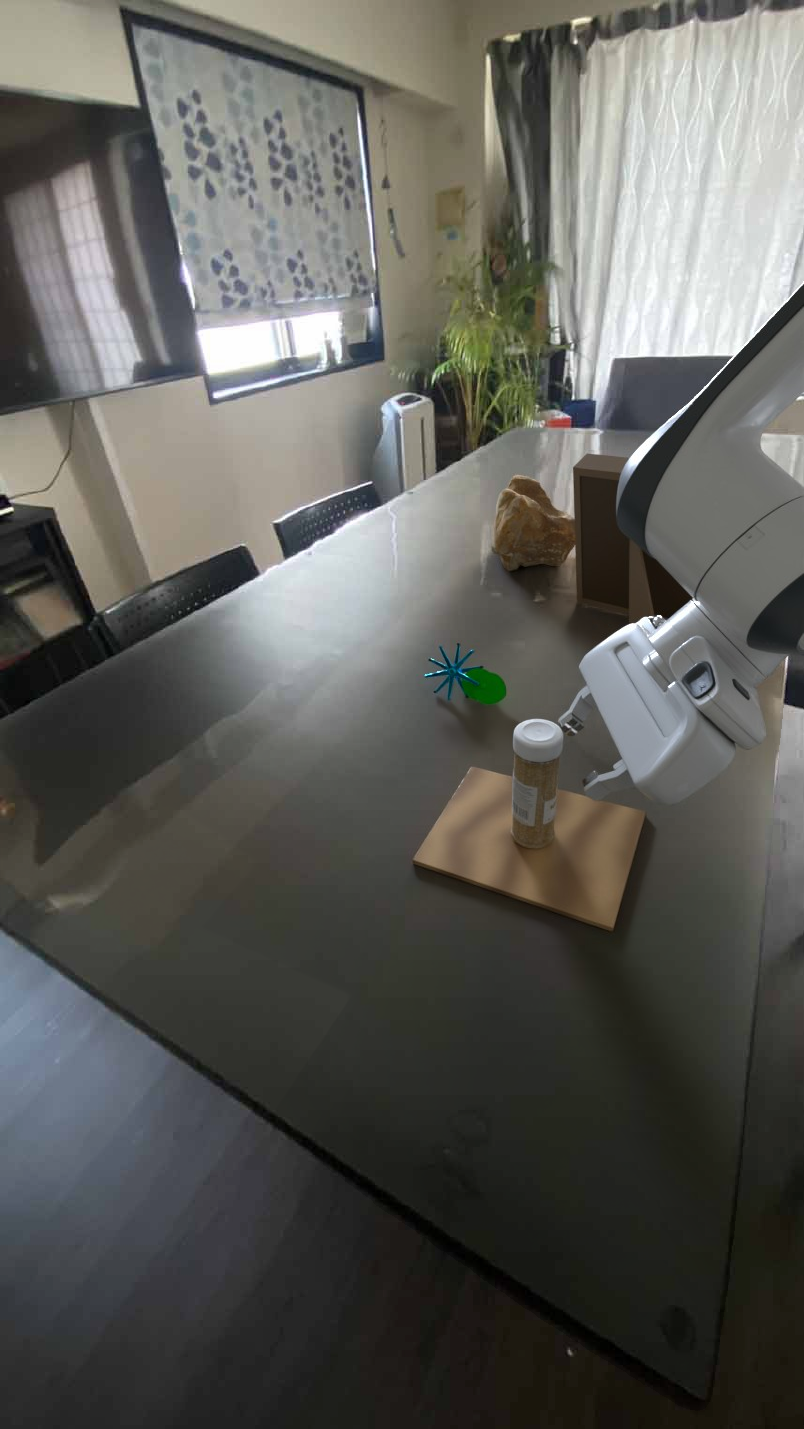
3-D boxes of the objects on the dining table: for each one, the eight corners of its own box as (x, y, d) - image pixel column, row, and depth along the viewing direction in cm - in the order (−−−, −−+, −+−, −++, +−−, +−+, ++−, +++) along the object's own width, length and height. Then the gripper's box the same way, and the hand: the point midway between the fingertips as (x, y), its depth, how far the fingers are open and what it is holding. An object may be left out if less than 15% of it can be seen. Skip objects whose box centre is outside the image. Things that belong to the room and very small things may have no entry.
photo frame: (588, 593, 113) (603, 444, 99) (715, 623, 101) (753, 458, 87) (546, 626, 105) (557, 468, 90) (681, 663, 93) (717, 487, 78)
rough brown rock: (571, 589, 117) (586, 507, 109) (481, 578, 120) (489, 498, 112) (575, 546, 136) (588, 473, 127) (497, 538, 139) (505, 466, 131)
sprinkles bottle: (561, 844, 65) (572, 740, 57) (520, 855, 64) (525, 750, 57) (542, 814, 69) (550, 712, 61) (503, 824, 68) (505, 722, 60)
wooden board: (645, 815, 68) (646, 811, 68) (612, 932, 57) (613, 928, 57) (471, 769, 77) (471, 765, 76) (412, 863, 65) (412, 859, 65)
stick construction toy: (413, 684, 89) (437, 633, 88) (425, 685, 95) (448, 638, 94) (491, 722, 86) (517, 670, 85) (498, 721, 93) (522, 672, 92)
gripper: (636, 589, 62) (531, 682, 68) (729, 708, 45) (578, 818, 51) (675, 627, 64) (571, 713, 70) (777, 753, 47) (628, 853, 53)
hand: (574, 758), depth 60 cm, fingers open, 8 cm apart
